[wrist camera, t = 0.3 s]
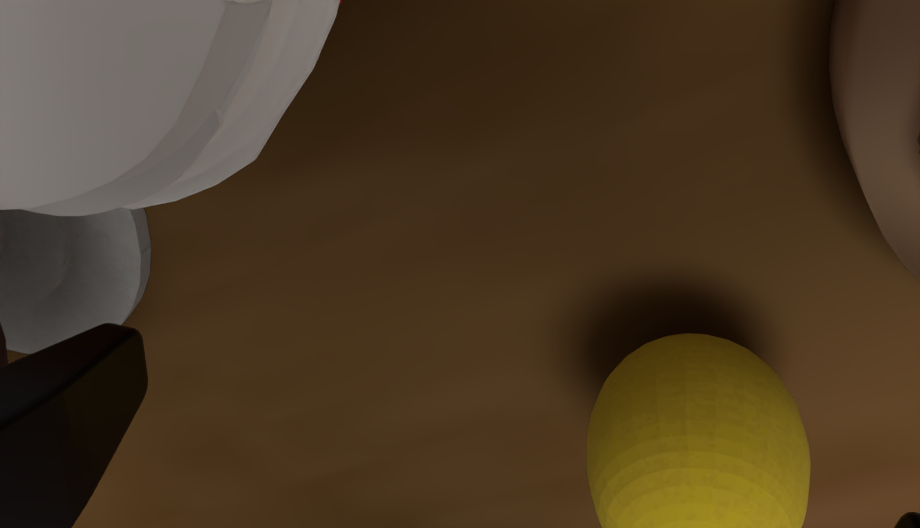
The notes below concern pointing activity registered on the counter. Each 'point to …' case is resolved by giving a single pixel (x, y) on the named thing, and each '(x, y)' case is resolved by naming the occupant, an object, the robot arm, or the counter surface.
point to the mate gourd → (68, 274)
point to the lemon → (697, 440)
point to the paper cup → (144, 95)
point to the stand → (881, 111)
